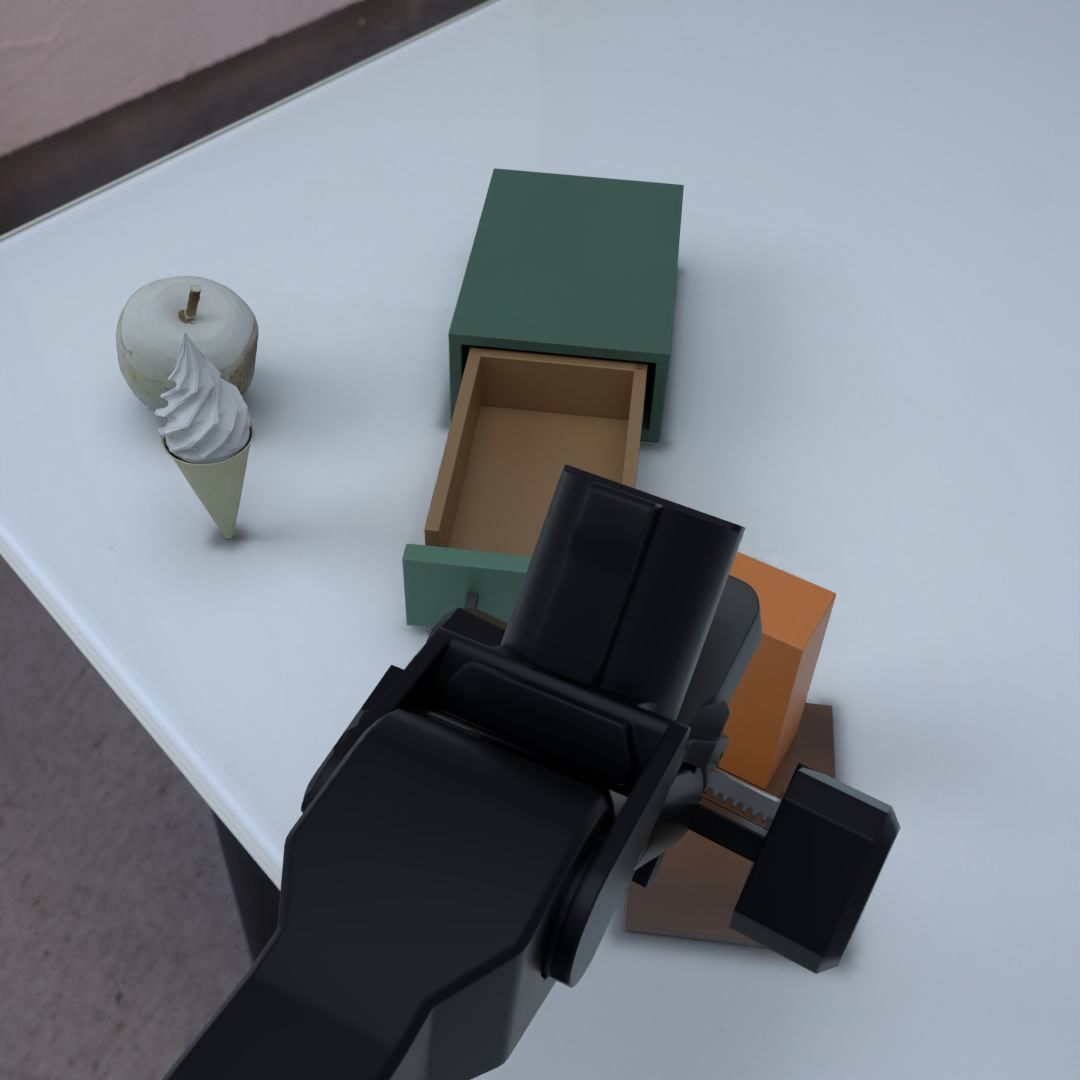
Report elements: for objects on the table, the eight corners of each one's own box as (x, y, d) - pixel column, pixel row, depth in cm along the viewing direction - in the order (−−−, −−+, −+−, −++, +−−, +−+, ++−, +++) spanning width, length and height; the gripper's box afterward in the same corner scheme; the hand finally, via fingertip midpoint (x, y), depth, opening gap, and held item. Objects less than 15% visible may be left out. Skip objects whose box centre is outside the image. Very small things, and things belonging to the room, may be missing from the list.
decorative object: (141, 368, 88) (110, 240, 81) (273, 364, 89) (254, 237, 82) (124, 457, 82) (89, 327, 75) (266, 451, 83) (245, 322, 75)
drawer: (626, 712, 68) (634, 647, 64) (391, 685, 69) (385, 620, 65) (651, 427, 84) (659, 362, 80) (460, 408, 85) (458, 342, 81)
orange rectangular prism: (765, 790, 65) (803, 650, 58) (675, 746, 67) (700, 605, 59) (796, 734, 68) (837, 592, 60) (709, 693, 70) (737, 550, 62)
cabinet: (659, 442, 84) (670, 354, 79) (450, 421, 85) (448, 333, 80) (673, 269, 98) (684, 184, 93) (493, 252, 99) (493, 167, 94)
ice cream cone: (168, 553, 76) (115, 346, 66) (215, 497, 80) (172, 292, 69) (243, 578, 75) (202, 372, 64) (288, 520, 78) (255, 316, 68)
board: (841, 957, 60) (844, 951, 60) (623, 930, 61) (624, 924, 60) (830, 712, 70) (832, 705, 69) (642, 691, 70) (643, 684, 70)
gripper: (954, 696, 38) (970, 677, 53) (424, 464, 45) (570, 504, 59) (802, 1036, 39) (860, 925, 54) (304, 761, 45) (477, 728, 60)
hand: (685, 757), depth 57 cm, fingers open, 9 cm apart
